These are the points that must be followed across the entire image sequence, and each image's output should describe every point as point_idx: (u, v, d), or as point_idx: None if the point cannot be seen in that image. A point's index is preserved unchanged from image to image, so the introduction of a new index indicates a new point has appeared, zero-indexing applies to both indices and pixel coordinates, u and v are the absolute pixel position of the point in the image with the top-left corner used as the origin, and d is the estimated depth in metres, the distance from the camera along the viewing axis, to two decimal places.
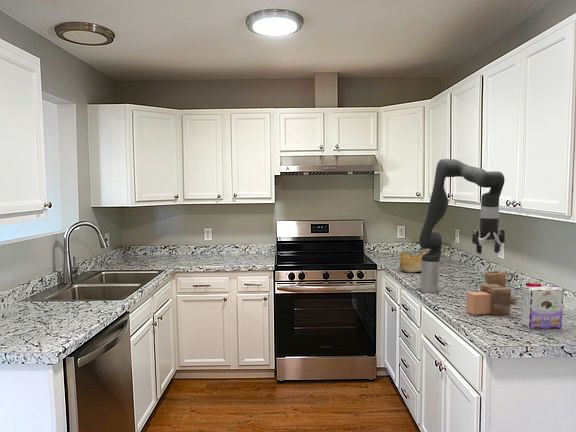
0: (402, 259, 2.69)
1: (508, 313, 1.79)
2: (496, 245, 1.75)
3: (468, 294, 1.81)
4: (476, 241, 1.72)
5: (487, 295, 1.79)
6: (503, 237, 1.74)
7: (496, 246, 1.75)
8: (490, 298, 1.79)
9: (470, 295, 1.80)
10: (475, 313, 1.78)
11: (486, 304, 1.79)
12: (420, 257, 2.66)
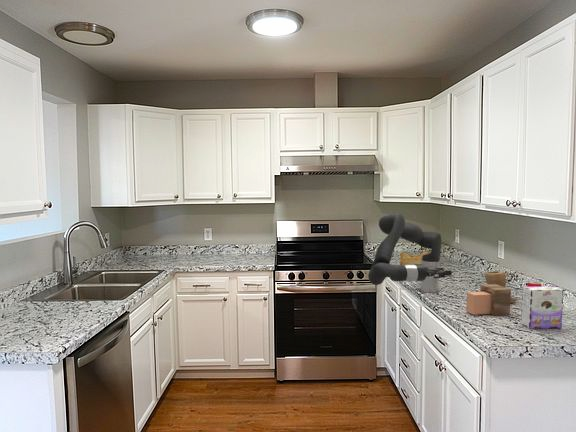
0: (402, 259, 2.69)
1: (508, 313, 1.79)
2: None
3: (468, 294, 1.81)
4: None
5: (487, 295, 1.79)
6: None
7: None
8: (490, 298, 1.79)
9: (470, 295, 1.80)
10: (475, 313, 1.78)
11: (486, 304, 1.79)
12: (420, 257, 2.66)
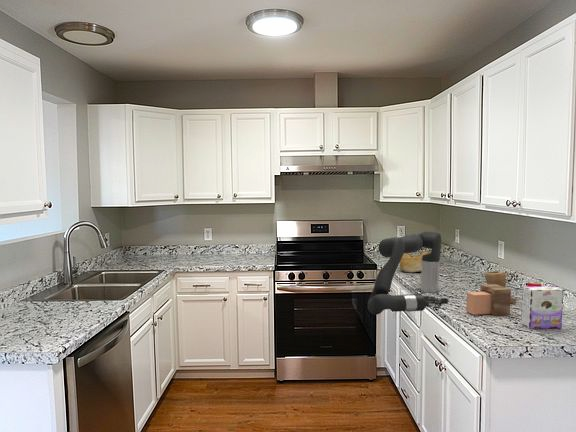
0: (402, 259, 2.69)
1: (508, 313, 1.79)
2: None
3: (468, 294, 1.81)
4: None
5: (487, 295, 1.79)
6: None
7: None
8: (490, 298, 1.79)
9: (470, 295, 1.80)
10: (475, 313, 1.78)
11: (486, 304, 1.79)
12: (420, 257, 2.66)
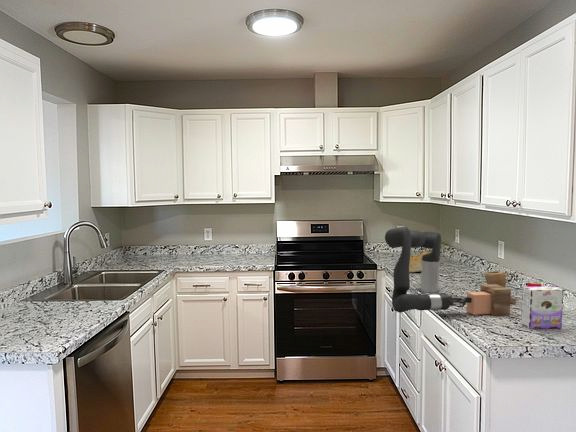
0: None
1: (508, 313, 1.79)
2: None
3: (468, 294, 1.81)
4: None
5: (487, 295, 1.79)
6: None
7: None
8: (490, 298, 1.79)
9: (470, 295, 1.80)
10: (475, 313, 1.78)
11: (487, 304, 1.79)
12: (420, 257, 2.66)
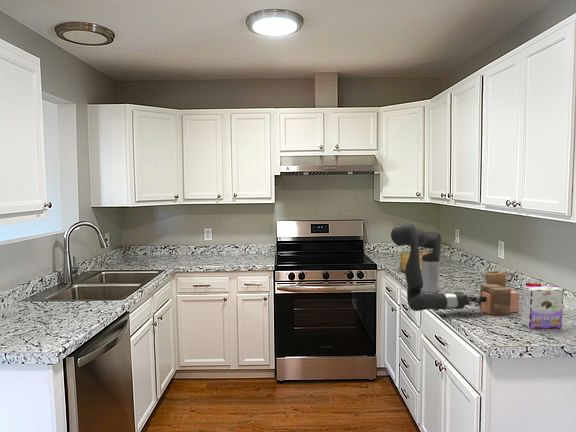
0: (402, 259, 2.69)
1: (508, 313, 1.79)
2: None
3: (483, 293, 1.83)
4: None
5: None
6: None
7: None
8: None
9: (485, 294, 1.81)
10: (490, 312, 1.80)
11: None
12: (420, 257, 2.66)
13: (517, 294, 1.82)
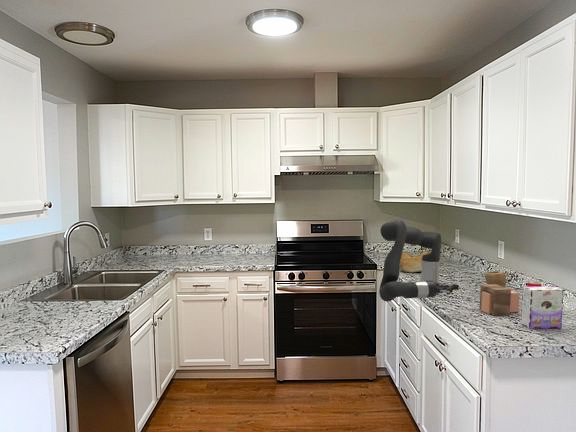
0: (402, 259, 2.69)
1: (508, 313, 1.79)
2: None
3: (483, 293, 1.83)
4: None
5: None
6: None
7: None
8: None
9: (485, 294, 1.81)
10: (490, 312, 1.80)
11: None
12: (420, 257, 2.66)
13: (517, 294, 1.82)
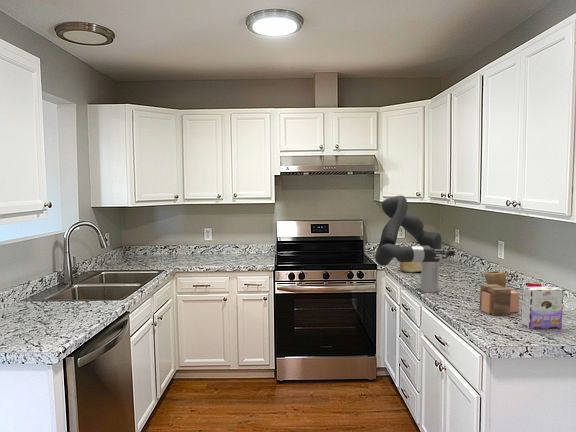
0: None
1: (508, 313, 1.79)
2: None
3: (483, 293, 1.83)
4: None
5: None
6: None
7: None
8: None
9: (485, 294, 1.81)
10: (490, 312, 1.80)
11: None
12: None
13: (517, 294, 1.82)
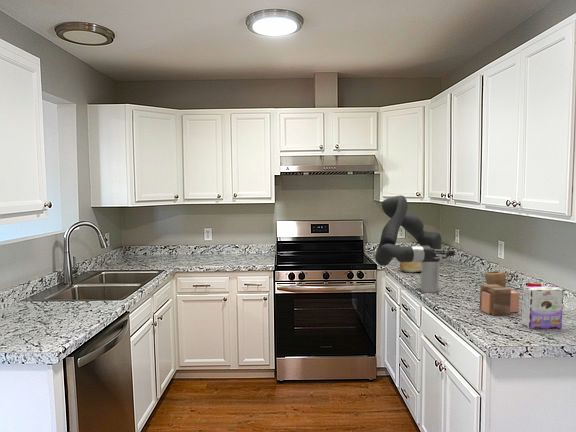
0: None
1: (508, 313, 1.79)
2: None
3: (483, 293, 1.83)
4: None
5: None
6: None
7: None
8: None
9: (485, 294, 1.81)
10: (490, 312, 1.80)
11: None
12: None
13: (517, 294, 1.82)
